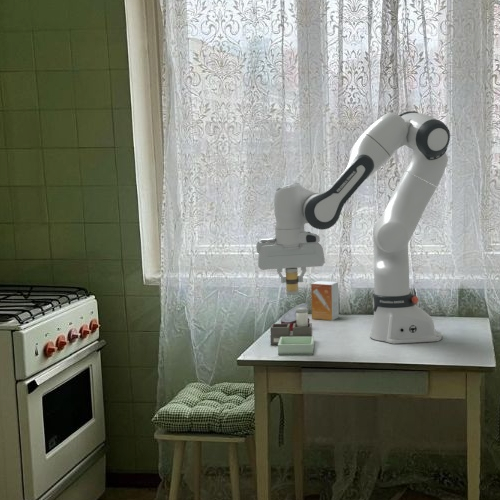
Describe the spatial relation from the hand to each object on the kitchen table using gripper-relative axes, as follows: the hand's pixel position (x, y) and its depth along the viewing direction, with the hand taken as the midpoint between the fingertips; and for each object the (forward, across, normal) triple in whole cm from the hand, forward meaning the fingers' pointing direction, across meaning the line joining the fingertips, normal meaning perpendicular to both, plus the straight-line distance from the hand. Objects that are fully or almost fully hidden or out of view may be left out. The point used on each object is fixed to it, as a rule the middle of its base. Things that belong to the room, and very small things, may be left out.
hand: (292, 282), depth 254 cm
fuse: (+18, +4, +8) cm, 20 cm away
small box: (+21, +17, +42) cm, 50 cm away
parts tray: (+21, 0, -2) cm, 21 cm away
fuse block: (+21, 0, +8) cm, 22 cm away
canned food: (+21, +4, +29) cm, 36 cm away
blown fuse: (+4, 0, 0) cm, 4 cm away
